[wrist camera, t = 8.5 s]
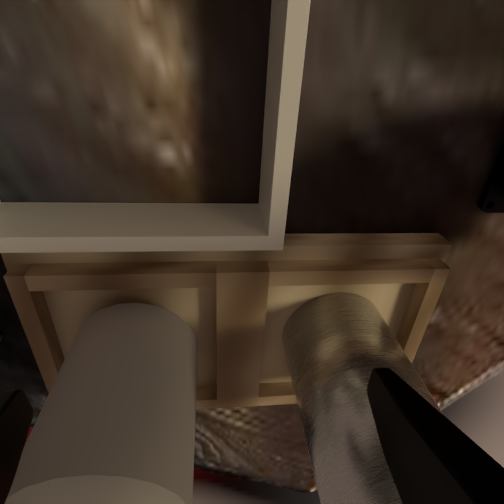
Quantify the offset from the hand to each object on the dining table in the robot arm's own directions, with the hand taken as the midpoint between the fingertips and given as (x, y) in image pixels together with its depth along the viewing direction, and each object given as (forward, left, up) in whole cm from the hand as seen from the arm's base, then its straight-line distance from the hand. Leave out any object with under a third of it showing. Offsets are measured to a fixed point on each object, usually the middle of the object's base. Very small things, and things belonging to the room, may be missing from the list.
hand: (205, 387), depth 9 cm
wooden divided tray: (-2, +9, -13) cm, 16 cm away
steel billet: (-8, +9, -11) cm, 17 cm away
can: (+5, +9, -11) cm, 15 cm away
